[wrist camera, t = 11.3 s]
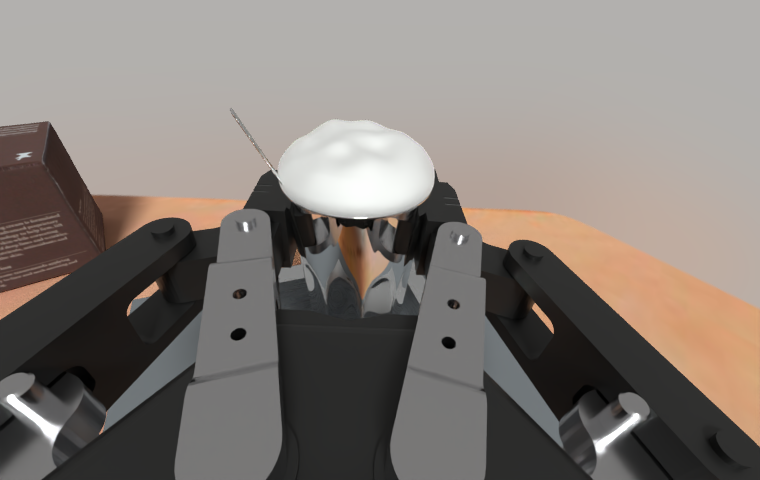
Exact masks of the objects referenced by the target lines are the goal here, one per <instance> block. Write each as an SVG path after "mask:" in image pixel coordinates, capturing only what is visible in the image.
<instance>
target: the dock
mask: <svg viewBox="0 0 760 480" xmlns="http://www.w3.org/2000/svg"><path fill="white" fill-rule="evenodd" d="M425 281H426V279H425V275H416V270H415V263H414V258H413V262H412V266H411V271H410V275H409V279H408V283H407V287H406V292H405V296H404V300H403V304H402V308H401V312H400V315H418V311H419V307H420V302H421V298H422V294H423V289H424V285H425ZM279 283H280V294H281V305H282V309H288V310H310V311H312V307H311V303H310V298H309V294H308V290H307V286H306V281H305V277H304V273H303V269H302V264H301V265H296V266H292V267H291V268H281V270H280V274H279ZM148 298H149V297H146V298H141V299H136V300H133V301H132V306H131V310H130V314H131V313H132V312H133V311H134V310H135V309H137V308H138V307H139V306H140V305H141V304H142V303H144V302H145V301H146V300H147V299H148ZM202 312H203V310H202V311H201V312H200V313H199V314H198V315H197V316H196V317H195V318H194V319H193V320H192V321H191V322H190V324H189V325H188V326H187V327H186V328H185V329H184V330H183V331H182V332H181V333H180V334H179V335H178V336H177V337H176V338H175V339H174V340H173V342H172V343H171V344H170V345H169V346H168V347H167V348H166V349H165V350H164V351H163V352H162V353H161V354H160V355H159V356H158V357H157V359H156V360H155V361H154V362H153V363H152V364H151V365H150V366H149V367H148V368H147V369H146V370H145V371H144V372H143V373H142V374H141V375H140V377H139V378H138V379H137V380H136V381H135V382H134V383H133V384H132V385H131V386H130V387H129V388H128V389H127V390H126V391H125V392H124V393H123V395H122V396H121V397H120V398H119V399H118V400H117V401H116V402H115V403H114V404H113V405H112V406H111V407H110V408H109V409H108V412H107V417H106V421H105V425H104V430H103V432H104V431H105V430H107V429H108V428H109V427H111V426H112V425H113V424H115V423H116V422H117V421H118V420H120V419H121V418H122V417H124V416H125V415H126V414H128V413H129V412H130V411H132V410H133V409H134V408H136V407H137V406H138V405H139V404H141V403H142V402H143V401H145V400H146V399H147V398H149V397H150V396H151V395H153V394H154V393H155V392H156V391H158V390H159V389H160V388H162V387H163V386H164V385H166V384H167V383H168V382H170V381H171V380H172V379H174V378H175V377H176V376H177V375H179V374H180V373H181V372H183V371H184V370H185V369H187V368H188V367H189V366H191V365H192V364H193V363H195V362H196V356H197V349H198V341H199V334H200V326H201V319H202ZM483 370H484V371H485V372H486V373H487V374H488V375H489V376H490V377H491V378H492V379H493V380H494V381H495V382H496V383H497V384H498V385H499V386H500V387H501V388H502V389H503V390H504V391H505V392H506V393H507V394H508V395H509V396H510V397H511V398H512V399H513V400H514V401H515V402H516V403H517V404H518V405H519V406H520V407H521V408H522V409H523V410H524V411H525V412H526V413H527V414H528V415H529V416H530V417H531V418H532V419H533V420H534V421H535V422H536V423H537V424H538V425H539V426H540V427H541V428H542V429H543V430H544V431H545V432H546V433H547V434H548V435H549V436H550V437H551V438H552V439H553V440H554V441H555V442H556V443H557V444H558V445H559V446H560V447H561V448H562V446H563V444H562V441H561V439H560V435H559V421H558V420H557V418H556V417H555V415H554V414H553V412H552V411H551V410H550V408H549V407H548V405H547V404H546V402H545V401H544V400H543V398H542V397H541V395H540V394H539V392H538V391H537V389H536V388H535V387H534V385H533V384H532V382H531V381H530V379H529V378H528V376H527V375H526V374H525V372H524V371H523V369H522V368H521V366H520V365H519V364H518V362H517V361H516V359H515V358H514V356H513V355H512V353H511V352H510V351H509V349H508V348H507V346H506V345H505V343H504V342H503V340H502V339H501V338H500V336H499V335H498V333H497V332H496V330H495V329H494V328H493V326H492V325H491V323H490V322H489V320H488V319H487V317H486V316H485V332H484V366H483Z"/></svg>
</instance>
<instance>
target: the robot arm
mask: <svg viewBox="0 0 760 480" xmlns="http://www.w3.org/2000/svg"><path fill="white" fill-rule="evenodd" d="M275 171H276V172H277V174H278V170H275ZM434 172H435V179H434V186H433V189H432V193H431V197H430V200H429V204H428V207H427V211H426V214H425V218H424V221H423V225H422V229H421V232H420V236H419V239H418V243H417V247H416V250H415V254H414V263H415V270H416V275H425V279H426V281H425V285H424V289H423V294H422V298H421V302H420V307H419V311H418V315H397V314H384V315H378V316H372V317H366V318H360V319H354V320H344V319H340V318H337V317H333V316H329V315H325V314H322V313H318V312H314V311H310V310H288V309H282V305H281V294H280V283H279V274H280V270H281V267H284V268H291V267H292V263H293V259H294V256H295V252H296V249H297V245H296V242H295V238H294V235H293V231H292V227H291V224H290V220H289V217H288V213H287V209H286V206H285V202H284V199H283V195H282V191H281V188H280V184H279V180H278V179H277V178H276V176H275V175H274V173H273V172H272V170H270V171H268V172H267V173H265V174H264V175H262V176H261V178H260V179H259V181H258V183H257V185H256V187H255V189H254V192H252V194H251V196H250V198H249V199H248V201H247V203H246V205H245V206H244V208H243V209H242V210H237V211H234V212H232V213H230V214H228V215H227V216H226V217H225V218H224V219H223V220H222V222H221V227H218V228H213V229H206V230H199V231H192V228H191V225H190V223H189V222H188V221H186V220H184V219H180V218H163V219H159V220H155V221H152V222H150V223H148V224H146V225H144V226H142V227H141V228H139V229H138V230H136V231H135V232H133V233H132V234H130V235H129V236H127V237H126V238H124V239H123V240H121V241H120V242H118V243H117V244H115V245H114V246H112V247H110V248H109V249H107V250H106V251H104V252H103V253H101V254H100V255H98V256H97V257H95V258H94V259H92V260H91V261H89V262H88V263H86V264H85V265H83V266H82V267H80V268H79V269H77V270H76V271H74V272H72V273H71V274H69V275H68V276H66V277H65V278H63V279H62V280H60V281H59V282H57V283H56V284H54V285H53V286H51V287H50V288H48V289H47V290H45V291H44V292H42V293H41V294H39V295H38V296H36V297H34V298H33V299H31V300H30V301H28V302H27V303H25V304H24V305H22V306H21V307H19V308H18V309H16V310H15V311H13V312H12V313H10V314H9V315H7V316H6V317H4V318H3V319H1V320H0V480H760V447H759V446H758V445H757V444H756V443H755V442H754V441H753V440H752V439H751V438H750V437H749V436H748V435H747V434H746V433H745V432H743V431H742V430H741V429H740V428H739V427H738V426H737V425H736V424H735V423H734V422H733V421H732V420H731V419H730V418H729V417H727V416H726V415H725V414H724V413H723V412H722V411H721V410H720V409H719V408H718V407H717V406H716V405H715V404H714V403H713V402H711V401H710V400H709V399H708V398H707V397H706V396H705V395H704V394H703V393H702V392H701V391H700V390H699V389H698V388H696V387H695V386H694V385H693V384H692V383H691V382H690V381H689V380H688V379H687V378H686V377H685V376H684V375H683V374H682V373H680V372H679V371H678V370H677V369H676V368H675V367H674V366H673V365H672V364H671V363H670V362H669V361H668V360H667V359H666V358H664V357H663V356H662V355H661V354H660V353H659V352H658V351H657V350H656V349H655V348H654V347H653V346H652V345H651V344H650V343H648V342H647V341H646V340H645V339H644V338H643V337H642V336H641V335H640V334H639V333H638V332H637V331H636V330H635V329H633V328H632V327H631V326H630V325H629V324H628V323H627V322H626V321H625V320H624V319H623V318H622V317H621V316H620V315H619V314H617V313H616V312H615V311H614V310H613V309H612V308H611V307H610V306H609V305H608V304H607V303H606V302H605V301H604V300H603V299H601V298H600V297H599V296H598V295H597V294H596V293H595V292H594V291H593V290H592V289H591V288H590V287H589V286H588V285H587V284H585V283H584V282H583V281H582V280H581V279H580V278H579V277H578V276H577V275H576V274H575V273H574V272H573V271H572V270H570V269H569V268H568V267H567V266H566V265H565V264H564V263H563V262H562V261H561V260H560V259H559V258H558V257H557V256H556V255H554V254H553V253H552V252H551V251H550V250H549V249H548V248H546V247H545V246H543V245H541V244H539V243H536V242H533V241H529V240H517V241H514V242H512V243H511V244H510V246H509V248H508V250H506V249H502V248H499V247H495V246H491V245H488V244H486V243H484V242H482V236H481V234H480V233H479V232H478V231H477V230H476V229H475V228H473V227H472V226H470V225H468V224H467V222H466V219H465V216H464V214H463V211H462V208H461V206H460V203H459V200H458V197H457V194H456V192H455V190H454V189H453V188H452V187H451V186H450V185H449V184H448V183H444V182H439V181H438V178H437V174H436V171H435V169H434ZM155 281H156V283H157V285H158V287H159V290H157V291H156V292H155V293H154V294H153V295H152V296H150V297H149V298H148V299H147V300H146V301H145V302H144V303H142V304H141V305H140V306H139V307H138V308H137V309H135V310H134V311H133V312H132V313H131V314H130V315H129V316H127V309H128V306H129V304H130V303H131V301H132V300H133V299H134V298H135V297H137V296H138V295H139V294H140V293H141V292H143V291H144V290H145V289H146V288H147V287H149V286H150V285H151V284H152V283H153V282H155ZM534 303H536V304H537V305H538V306H539V308H540V309H541V310H542V311H543V312H544V313H545V314H546V316H547V317H548V318H549V319H550V321H551V322H552V324H553V327H554V334H553V333H552V332H551V331H550V330H549V328H548V327H547V326H546V325H545V324H544V322H543V321H542V320H541V319H540V318H539V316H538V315H537V314H536V313H535V312H534V311H533V309H532V306H533V305H534ZM202 310H203V312H202V319H201V326H200V334H199V341H198V349H197V356H196V362H195V363H193V364H192V365H191V366H189V367H188V368H187V369H185V370H184V371H183V372H181V373H180V374H179V375H177V376H176V377H175V378H174V379H172V380H171V381H170V382H168V383H167V384H166V385H164V386H163V387H162V388H160V389H159V390H158V391H156V392H155V393H154V394H153V395H151V396H150V397H149V398H147V399H146V400H145V401H143V402H142V403H141V404H139V405H138V406H137V407H136V408H134V409H133V410H132V411H130V412H129V413H128V414H126V415H125V416H124V417H122V418H121V419H120V420H118V421H117V422H116V423H115V424H113V425H112V426H111V427H109V428H108V429H107V430H105V431H104V432H103V433H101V434H100V435H99V432H100V431H101V429H102V427H103V425H104V422H105V419H106V411H107V410H108V409H109V408H110V407H111V406H112V405H113V404H114V403H115V402H116V401H117V400H118V399H119V398H120V397H121V396H122V395H123V393H124V392H125V391H126V390H127V389H128V388H129V387H130V386H131V385H132V384H133V383H134V382H135V381H136V380H137V379H138V378H139V377H140V375H141V374H142V373H143V372H144V371H145V370H146V369H147V368H148V367H149V366H150V365H151V364H152V363H153V362H154V361H155V360H156V359H157V357H158V356H159V355H160V354H161V353H162V352H163V351H164V350H165V349H166V348H167V347H168V346H169V345H170V344H171V343H172V342H173V340H174V339H175V338H176V337H177V336H178V335H179V334H180V333H181V332H182V331H183V330H184V329H185V328H186V327H187V326H188V325H189V324H190V322H191V321H192V320H193V319H194V318H195V317H196V316H197V315H198V314H199V313H200V312H201V311H202ZM485 316H486V317H487V319H488V320H489V322H490V323H491V325H492V326H493V328H494V329H495V330H496V332H497V333H498V335H499V336H500V338H501V339H502V340H503V342H504V343H505V345H506V346H507V348H508V349H509V351H510V352H511V353H512V355H513V356H514V358H515V359H516V361H517V362H518V364H519V365H520V366H521V368H522V369H523V371H524V372H525V374H526V375H527V376H528V378H529V379H530V381H531V382H532V384H533V385H534V387H535V388H536V389H537V391H538V392H539V394H540V395H541V397H542V398H543V400H544V401H545V402H546V404H547V405H548V407H549V408H550V410H551V411H552V412H553V414H554V415H555V417H556V418H557V420H558V421H559V435H560V439H561V441H562V444H563V446H562V448H561V447H560V446H559V445H558V444H557V443H556V442H555V441H554V440H553V439H552V438H551V437H550V436H549V435H548V434H547V433H546V432H545V431H544V430H543V429H542V428H541V427H540V426H539V425H538V424H537V423H536V422H535V421H534V420H533V419H532V418H531V417H530V416H529V415H528V414H527V413H526V412H525V411H524V410H523V409H522V408H521V407H520V406H519V405H518V404H517V403H516V402H515V401H514V400H513V399H512V398H511V397H510V396H509V395H508V394H507V393H506V392H505V391H504V390H503V389H502V388H501V387H500V386H499V385H498V384H497V383H496V382H495V381H494V380H493V379H492V378H491V377H490V376H489V375H488V374H487V373H486V372H485V371H484V370H483V366H484V332H485Z"/></svg>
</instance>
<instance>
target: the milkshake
mask: <svg viewBox="0 0 760 480" xmlns="http://www.w3.org/2000/svg"><path fill="white" fill-rule="evenodd" d="M230 111H231V114H232V115H233V117H234V118H235V119H236V121H237V122H238V124H239V125H240V127H241V128H242V129H243V131H244V132H245V134H246V135H247V137H248V138H249V139H250V141H251V142H252V144H253V145H254V146H255V148H256V149H257V151H258V152H259V153H260V155H261V156H262V157H263V159H264V161H265V162H266V163H267V165H268V166H269V168H270V169H271V170H272V172H273V173H274V175H275V176H276V178H277V179H278V180H279V184H280V188H281V191H282V195H283V199H284V202H285V206H286V209H287V213H288V217H289V220H290V224H291V227H292V231H293V235H294V238H295V242H296V245H297V249H298V253H299V256H300V260H301V264H302V269H303V273H304V277H305V281H306V286H307V290H308V294H309V298H310V303H311V307H312V311H314V312H318V313H322V314H325V315H329V316H333V317H337V318H340V319H344V320H354V319H360V318H366V317H372V316H378V315H384V314H397V315H400V312H401V308H402V304H403V300H404V296H405V292H406V287H407V283H408V279H409V275H410V271H411V266H412V262H413V258H414V254H415V250H416V247H417V243H418V239H419V236H420V232H421V229H422V225H423V221H424V218H425V214H426V211H427V207H428V204H429V200H430V197H431V193H432V189H433V186H434V179H435V172H434V166H433V163H432V161H431V159H430V157H429V155H428V154H427V153H426V151H425V150H424V148H423V147H422V146H421V145H420V144H419V143H417V142H416V141H415V140H413V139H412V138H411V137H410V136H408V135H407V134H405V133H403V132H401V131H397V130H392V129H389V128H386V127H384V126H382V125H380V124H378V123H376V122H373V121H369V120H359V121H344V120H338V119H333V120H329V121H327V122H325V123H323V124H322V125H320V126H318V127H317V128H315V129H314V130H313V131H312V132H311V133H309V134H308V135H305V136H303V137H301V138H299V139H297V140H295V141H294V142H293V143H292V144H291V145H290V146H289V147H288V148H287V150H286V151H285V152H284V154H283V155H282V157H281V159H280V162H279V164H278V174H277V172H276V171H275V169H274V168H273V167H272V165H271V164H270V162H269V161H268V159H267V158H266V157H265V155H264V154H263V152H262V151H261V149H260V148H259V146H258V145H257V144H256V142H255V141H254V139H253V138H252V136H251V135H250V134H249V132H248V131H247V129H246V128H245V126H244V125H243V124H242V122H241V121H240V119H239V118H238V117H237V115H236V113H235V112H234V111H233V109H232V108H230Z"/></svg>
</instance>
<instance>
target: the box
mask: <svg viewBox="0 0 760 480" xmlns="http://www.w3.org/2000/svg"><path fill="white" fill-rule="evenodd" d="M104 251H105V241H104V230H103V218H102V213H101V212H100V210H99V208H98V206H97V205H96V203H95V201H94V200H93V197H92V196H91V194H90V192H89V190H88V189H87V186H86V185H85V183H84V181H83V180H82V178H81V177H80V174H79V173H78V171H77V169H76V167H75V166H74V164H73V162H72V160H71V158H70V156H69V154H68V153H67V151H66V149H65V147H64V146H63V144H62V142H61V140H60V139H59V137H58V135H57V133H56V131H55V130H54V128H53V127H52V125H51V123H50V122H40V123H31V124H23V125H12V126H2V127H0V292H3V291H6V290H11V289H14V288H17V287H21V286H25V285H28V284H31V283H35V282H38V281H42V280H46V279H50V278H53V277H57V276H60V275H64V274H67V273H71V272H74V271H76V270H77V269H79V268H80V267H82V266H83V265H85V264H86V263H88V262H89V261H91V260H92V259H94V258H95V257H97V256H98V255H100V254H101V253H103V252H104Z"/></svg>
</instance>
